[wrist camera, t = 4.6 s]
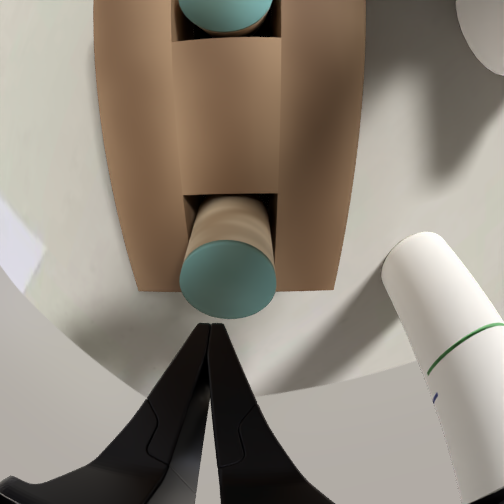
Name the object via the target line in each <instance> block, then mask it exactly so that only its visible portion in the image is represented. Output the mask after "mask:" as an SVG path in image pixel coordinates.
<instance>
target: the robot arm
mask: <svg viewBox="0 0 504 504" xmlns="http://www.w3.org/2000/svg"><path fill="white" fill-rule="evenodd" d="M147 399H148V400H147ZM147 399H146V400H145V401H144V403H143V404H142V406H141V407H140V409H139V410H138V411H137V413H136V414H135V415H134V417H133V418H132V419H131V420H130V422H129V423H128V424H127V425H126V426H125V428H124V429H123V430H122V431H121V432H120V433H119V434H118V436H117V437H116V438H115V439H114V440H113V441H112V442H111V443H110V444H109V445H108V446H107V448H106V449H105V450H104V451H103V452H102V453H101V454H100V455H99V456H98V457H97V458H96V459H95V460H94V461H92V462H91V463H89V464H87V465H86V466H84V467H81V468H79V469H77V470H75V471H72V472H70V473H67V474H65V475H62V476H60V477H58V478H55V479H53V480H50V481H48V482H44V483H41V484H29V483H27V482H24V481H22V480H20V479H18V478H16V477H14V476H9V477H7V478H6V479H4V480H3V481H1V482H0V504H195V498H196V491H197V483H198V476H199V469H200V462H201V455H202V448H203V441H204V434H205V427H206V421H207V414H208V408H209V402H210V400H211V411H212V421H213V431H214V441H215V449H216V459H217V467H218V475H219V484H220V498H221V504H335V503H334V502H332V501H331V500H330V499H329V498H327V497H326V496H325V495H324V494H322V493H321V492H320V491H319V490H317V489H316V488H315V487H314V486H313V485H312V484H311V483H309V482H308V481H307V480H306V478H304V476H303V475H302V474H301V473H300V471H299V470H298V469H297V468H296V466H295V465H294V464H293V462H292V461H291V459H290V458H289V456H288V455H287V454H286V452H285V451H284V449H283V448H282V446H281V445H280V443H279V442H278V440H277V439H276V437H275V436H274V434H273V433H272V431H271V429H270V428H269V426H268V424H267V422H266V420H265V418H264V416H263V414H262V412H261V410H260V407H259V405H258V404H257V401H256V399H255V396H254V394H253V392H252V390H251V387H250V385H249V383H248V380H247V378H246V376H245V374H244V371H243V369H242V367H241V364H240V362H239V359H238V357H237V355H236V352H235V350H234V348H233V345H232V343H231V340H230V338H229V335H228V333H227V331H226V328H225V326H224V324H222V323H212V324H209V323H199V324H197V326H196V327H195V329H194V330H193V331H192V333H191V334H190V336H189V337H188V339H187V340H186V342H185V343H184V345H183V346H182V347H181V349H180V350H179V352H178V353H177V355H176V356H175V358H174V359H173V361H172V362H171V363H170V365H169V366H168V368H167V369H166V371H165V372H164V374H163V375H162V377H161V378H160V379H159V381H158V382H157V384H156V385H155V387H154V388H153V390H152V391H151V393H150V394H149V396H148V397H147ZM4 495H5V496H4ZM11 499H12V500H11ZM13 500H14V501H13ZM15 501H16V502H15ZM468 504H504V486H503V487H501V488H499V489H497V490H495V491H493V492H491V493H489V494H487V495H485V496H483V497H481V498H479V499H477V500H475V501H473V502H471V503H468Z"/></svg>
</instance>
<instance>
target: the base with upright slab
mask: <svg viewBox="0 0 504 504" xmlns="http://www.w3.org/2000/svg"><path fill="white" fill-rule="evenodd" d="M456 11H457V18H458V21H459V24H460V27H461V30H462V33H463V35H464V37H465V39H466V41H467V44H468V46H469V47H470V49H471V50H472V52H473V53H474V55H475V56H476V58H477V59H478V60H479V61H480V62H481V63H482V64H483V65H484V66H485V67H486V68H487V69H489V70H491V71H492V72H494V73H495V74H499V75H502V76H504V0H456Z"/></svg>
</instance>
